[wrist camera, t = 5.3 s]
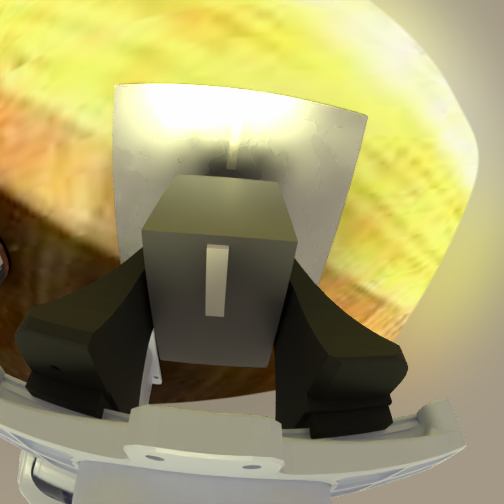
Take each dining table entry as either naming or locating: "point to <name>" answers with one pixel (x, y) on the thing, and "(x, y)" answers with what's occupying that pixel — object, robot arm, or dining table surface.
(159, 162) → the grey flat square slab
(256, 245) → the striped grey block
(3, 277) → the supplement bottle
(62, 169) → the dining table surface
